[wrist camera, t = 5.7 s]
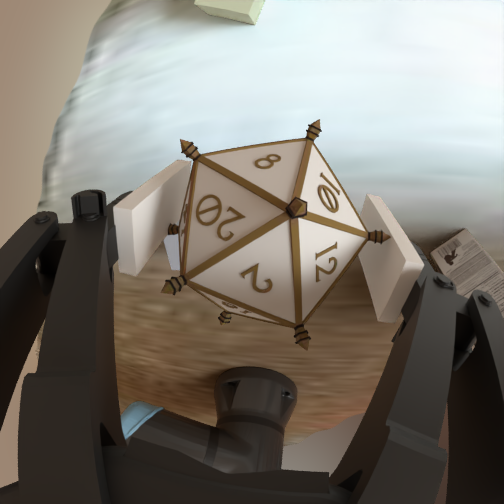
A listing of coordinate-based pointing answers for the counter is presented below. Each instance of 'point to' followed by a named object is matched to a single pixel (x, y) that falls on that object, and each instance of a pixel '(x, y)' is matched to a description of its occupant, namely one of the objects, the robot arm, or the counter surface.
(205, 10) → the sage cube
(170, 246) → the slate cube
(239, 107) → the counter surface
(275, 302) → the game die
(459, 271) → the coffee box
